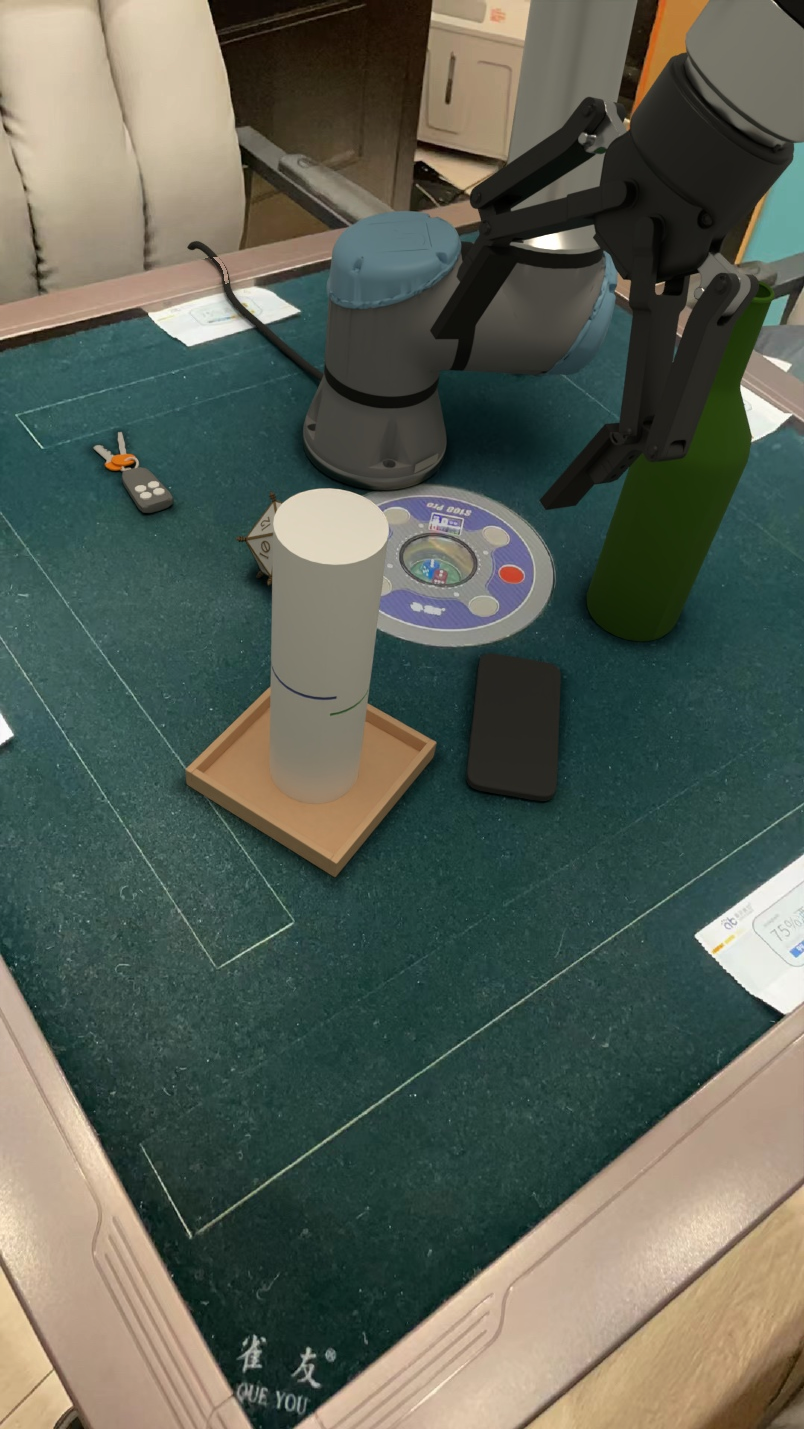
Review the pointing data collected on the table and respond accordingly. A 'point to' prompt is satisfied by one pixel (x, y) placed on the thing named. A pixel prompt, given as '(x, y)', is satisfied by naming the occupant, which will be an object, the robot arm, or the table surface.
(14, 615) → the table surface
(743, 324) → the wine bottle
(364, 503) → the cylindrical container
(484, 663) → the phone
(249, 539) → the game die
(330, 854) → the tray
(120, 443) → the key chain
